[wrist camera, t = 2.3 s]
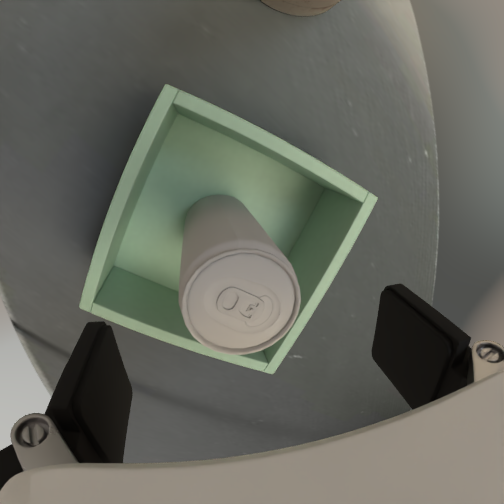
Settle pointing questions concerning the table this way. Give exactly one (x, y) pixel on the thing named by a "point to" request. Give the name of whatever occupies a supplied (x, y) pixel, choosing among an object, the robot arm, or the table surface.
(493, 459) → the robot arm
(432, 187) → the table surface
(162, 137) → the open box
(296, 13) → the thermos bottle
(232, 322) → the beverage can
